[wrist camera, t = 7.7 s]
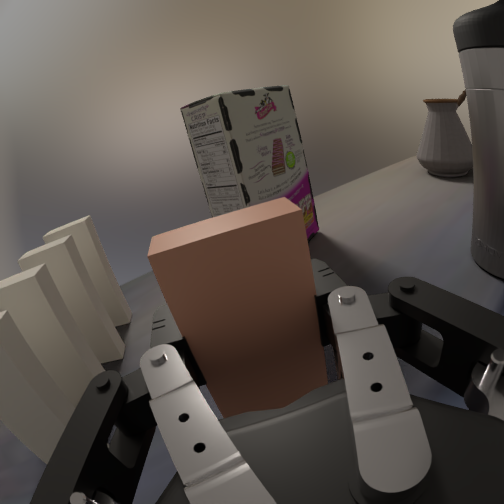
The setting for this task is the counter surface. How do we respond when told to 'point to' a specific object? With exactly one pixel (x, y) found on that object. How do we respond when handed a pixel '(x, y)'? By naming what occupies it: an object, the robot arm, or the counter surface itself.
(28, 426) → the domino
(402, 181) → the counter surface
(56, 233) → the domino
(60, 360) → the domino
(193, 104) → the candy bar box
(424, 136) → the coffee pot
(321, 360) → the domino
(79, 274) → the domino
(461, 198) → the counter surface
